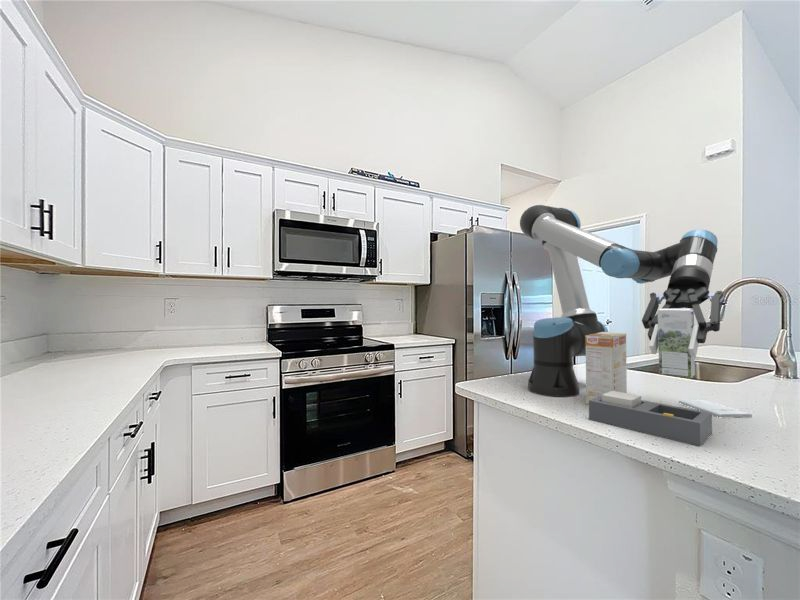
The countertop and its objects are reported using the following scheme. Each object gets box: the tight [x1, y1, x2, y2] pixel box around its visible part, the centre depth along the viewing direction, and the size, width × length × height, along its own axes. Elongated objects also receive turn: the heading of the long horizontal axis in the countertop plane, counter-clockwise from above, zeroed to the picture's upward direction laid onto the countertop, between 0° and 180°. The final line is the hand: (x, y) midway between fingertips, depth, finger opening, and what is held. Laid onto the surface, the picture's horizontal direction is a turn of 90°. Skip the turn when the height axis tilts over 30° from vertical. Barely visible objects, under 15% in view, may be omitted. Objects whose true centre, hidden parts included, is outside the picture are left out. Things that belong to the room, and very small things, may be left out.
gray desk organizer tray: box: [588, 391, 713, 447], centre depth 81 cm, size 21×11×6 cm, turn 39°
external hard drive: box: [678, 399, 753, 419], centre depth 93 cm, size 2×8×12 cm
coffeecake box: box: [585, 331, 628, 406], centre depth 101 cm, size 15×7×20 cm, turn 134°
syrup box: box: [657, 308, 696, 379], centre depth 77 cm, size 6×6×14 cm
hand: (671, 351), depth 75 cm, fingers closed on syrup box, 6 cm apart
